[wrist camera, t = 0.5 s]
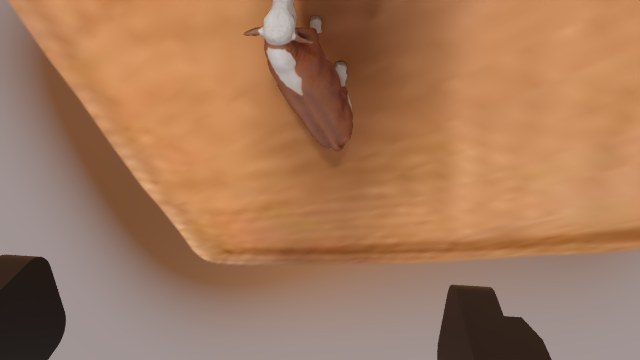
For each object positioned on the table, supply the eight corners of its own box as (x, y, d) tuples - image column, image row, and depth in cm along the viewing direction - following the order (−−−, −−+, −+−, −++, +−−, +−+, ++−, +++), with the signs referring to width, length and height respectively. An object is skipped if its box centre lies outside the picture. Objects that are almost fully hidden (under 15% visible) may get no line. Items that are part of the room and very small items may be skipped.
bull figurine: (307, -50, 33) (290, -2, 28) (363, 101, 42) (359, 162, 36) (253, -30, 35) (225, 20, 29) (317, 113, 43) (306, 173, 37)
